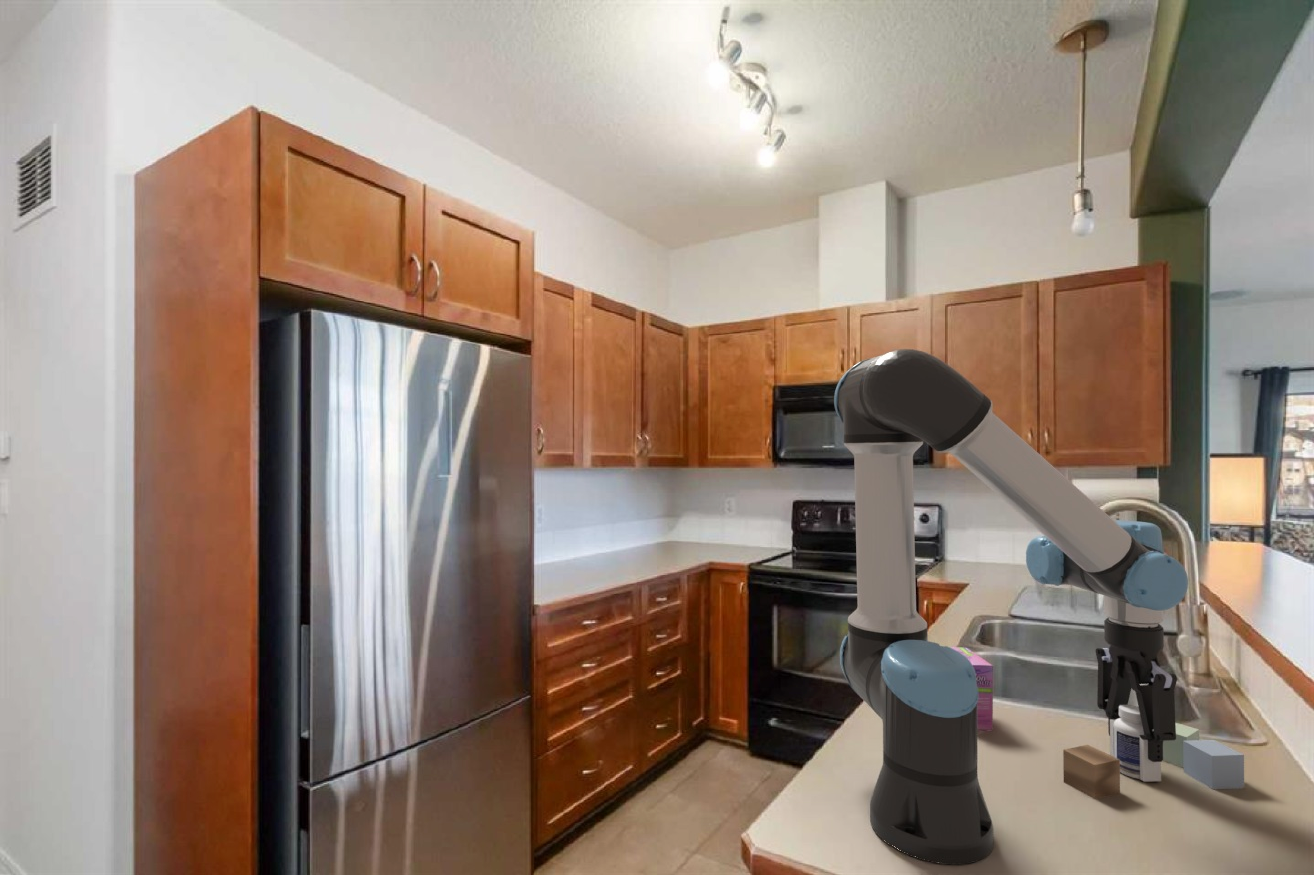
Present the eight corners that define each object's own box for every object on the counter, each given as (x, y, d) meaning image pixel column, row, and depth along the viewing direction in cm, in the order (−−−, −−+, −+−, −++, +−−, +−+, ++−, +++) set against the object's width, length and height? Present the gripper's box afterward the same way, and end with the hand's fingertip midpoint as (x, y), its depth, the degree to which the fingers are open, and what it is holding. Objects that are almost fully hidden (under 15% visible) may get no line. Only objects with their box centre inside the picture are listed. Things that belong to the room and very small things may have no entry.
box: (994, 731, 118) (993, 664, 118) (962, 731, 118) (961, 664, 118) (967, 707, 128) (967, 646, 128) (938, 707, 128) (937, 646, 128)
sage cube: (1187, 769, 104) (1186, 737, 104) (1150, 756, 108) (1149, 725, 108) (1199, 760, 107) (1199, 729, 107) (1162, 748, 111) (1162, 718, 111)
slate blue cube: (1212, 789, 98) (1211, 755, 98) (1183, 772, 103) (1183, 740, 103) (1244, 788, 98) (1243, 754, 98) (1214, 771, 103) (1213, 739, 103)
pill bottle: (1164, 782, 100) (1163, 717, 100) (1124, 778, 101) (1123, 714, 101) (1145, 765, 105) (1144, 703, 105) (1107, 762, 106) (1106, 701, 106)
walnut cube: (1094, 799, 95) (1094, 764, 95) (1063, 782, 100) (1063, 749, 100) (1120, 793, 97) (1119, 759, 97) (1088, 777, 101) (1087, 744, 101)
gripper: (1208, 637, 94) (1210, 801, 94) (1112, 605, 112) (1113, 742, 112) (1158, 638, 94) (1159, 802, 93) (1070, 606, 112) (1071, 743, 112)
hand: (1134, 769), depth 103 cm, fingers closed on pill bottle, 5 cm apart
